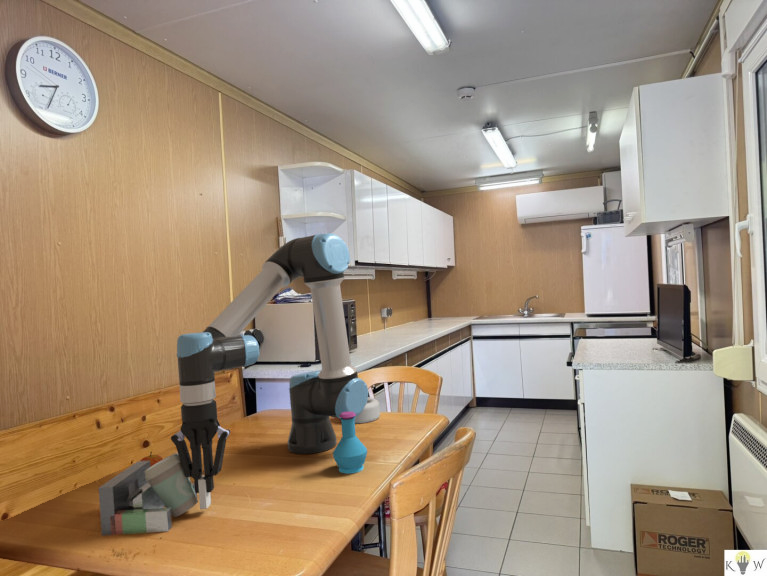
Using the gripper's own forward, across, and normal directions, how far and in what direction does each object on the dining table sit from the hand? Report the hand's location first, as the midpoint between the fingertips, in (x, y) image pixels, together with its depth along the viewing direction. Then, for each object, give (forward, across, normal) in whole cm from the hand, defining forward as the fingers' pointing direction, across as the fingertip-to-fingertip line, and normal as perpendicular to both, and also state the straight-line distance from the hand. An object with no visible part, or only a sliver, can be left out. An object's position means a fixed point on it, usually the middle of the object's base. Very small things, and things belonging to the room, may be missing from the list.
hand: (205, 506), depth 112 cm
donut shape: (+2, -30, -74) cm, 80 cm away
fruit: (+2, +23, -22) cm, 32 cm away
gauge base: (+2, +12, 0) cm, 12 cm away
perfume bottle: (+2, -31, -22) cm, 38 cm away
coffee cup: (+1, +4, 0) cm, 4 cm away
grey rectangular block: (+1, +16, +1) cm, 16 cm away
